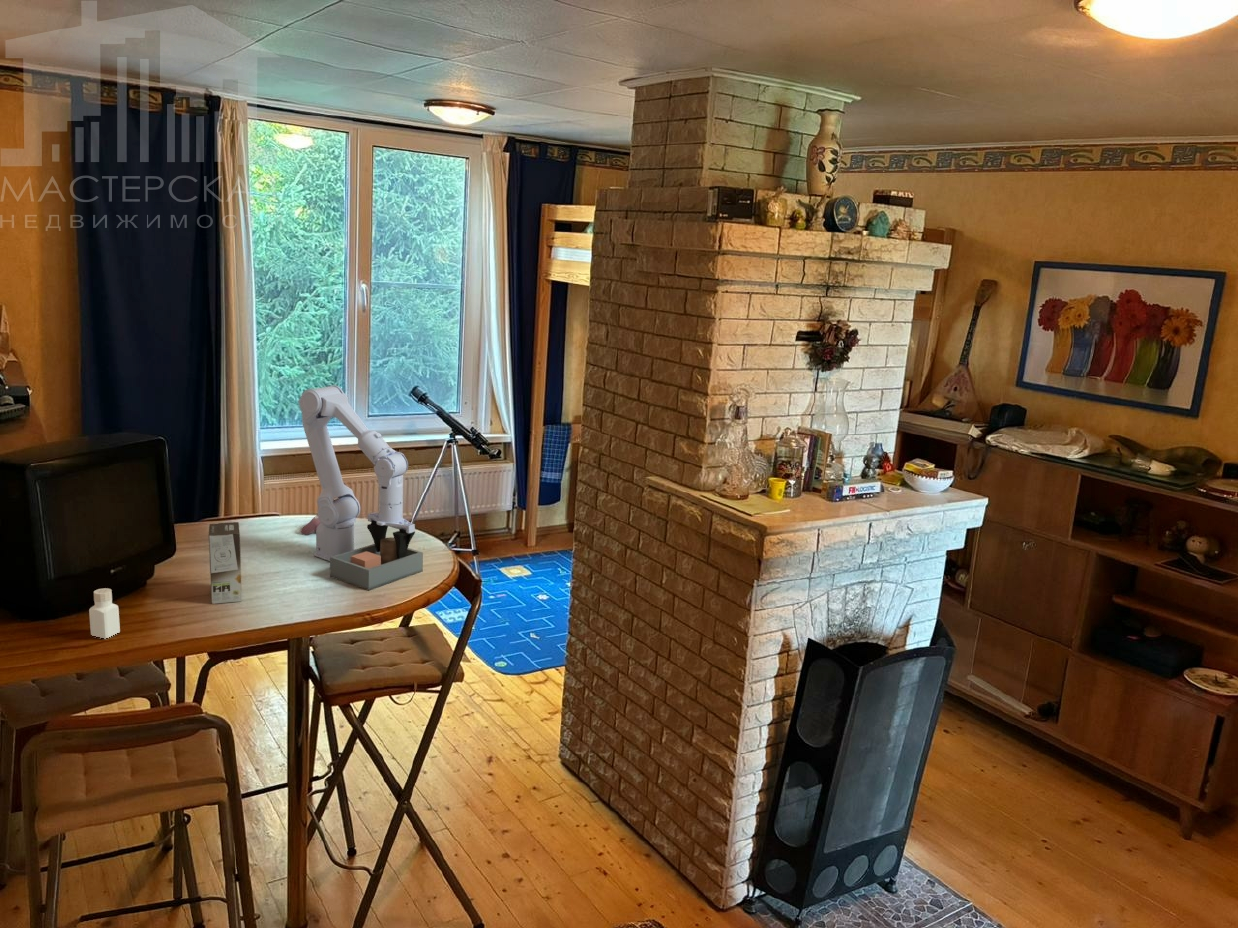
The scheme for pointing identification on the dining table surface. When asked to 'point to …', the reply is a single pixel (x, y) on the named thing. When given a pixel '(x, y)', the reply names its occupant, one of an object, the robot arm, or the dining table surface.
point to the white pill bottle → (104, 615)
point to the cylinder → (388, 550)
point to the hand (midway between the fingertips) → (390, 554)
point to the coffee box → (225, 562)
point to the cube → (366, 559)
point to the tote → (374, 568)
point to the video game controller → (311, 526)
